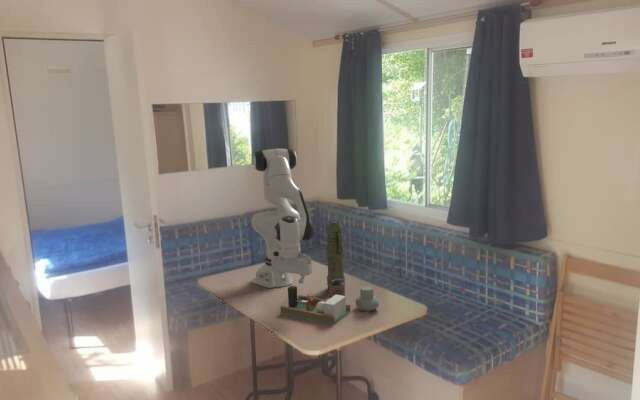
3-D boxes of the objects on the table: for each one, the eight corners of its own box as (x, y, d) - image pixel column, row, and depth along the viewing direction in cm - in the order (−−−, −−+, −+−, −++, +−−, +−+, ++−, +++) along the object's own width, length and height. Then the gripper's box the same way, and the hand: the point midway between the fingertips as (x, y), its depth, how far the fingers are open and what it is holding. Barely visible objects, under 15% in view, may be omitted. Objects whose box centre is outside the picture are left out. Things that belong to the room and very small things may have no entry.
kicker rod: (287, 307, 235) (286, 288, 234) (293, 303, 239) (292, 285, 238) (309, 311, 229) (308, 292, 228) (315, 307, 234) (314, 288, 232)
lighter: (330, 301, 244) (329, 281, 242) (328, 299, 247) (327, 279, 245) (346, 299, 246) (345, 279, 244) (344, 297, 249) (343, 277, 248)
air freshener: (353, 306, 237) (353, 285, 235) (369, 303, 240) (369, 283, 238) (364, 315, 227) (363, 293, 225) (380, 311, 230) (380, 290, 228)
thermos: (337, 284, 268) (335, 218, 261) (349, 290, 258) (348, 222, 251) (322, 287, 263) (320, 221, 257) (335, 294, 253) (333, 225, 247)
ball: (314, 313, 228) (313, 302, 227) (319, 309, 232) (319, 298, 232) (324, 315, 226) (323, 304, 225) (329, 311, 230) (329, 300, 229)
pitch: (280, 314, 231) (280, 297, 229) (299, 302, 244) (299, 286, 243) (333, 325, 217) (333, 307, 216) (350, 311, 231) (350, 294, 230)
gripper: (314, 252, 229) (315, 282, 232) (276, 248, 240) (277, 277, 242) (306, 256, 224) (308, 286, 226) (268, 252, 234) (270, 281, 236)
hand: (292, 281), depth 234 cm, fingers open, 8 cm apart
